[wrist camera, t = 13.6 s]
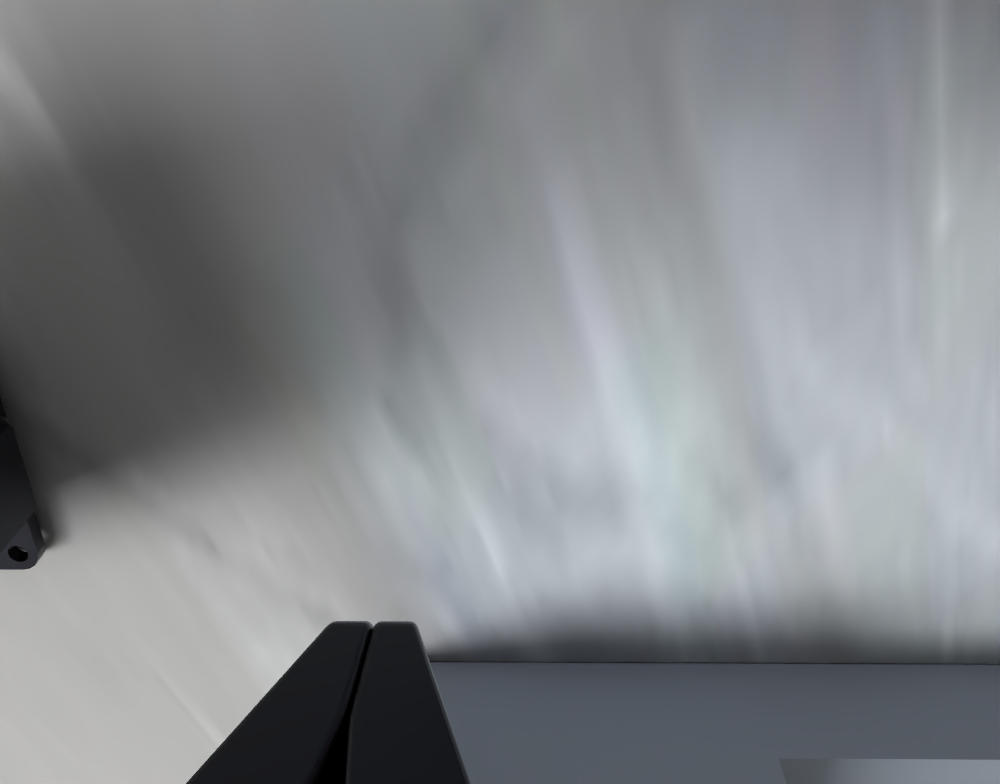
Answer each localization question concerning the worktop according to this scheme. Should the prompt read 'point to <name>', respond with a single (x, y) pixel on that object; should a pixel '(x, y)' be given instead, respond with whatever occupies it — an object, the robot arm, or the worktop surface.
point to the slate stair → (724, 723)
